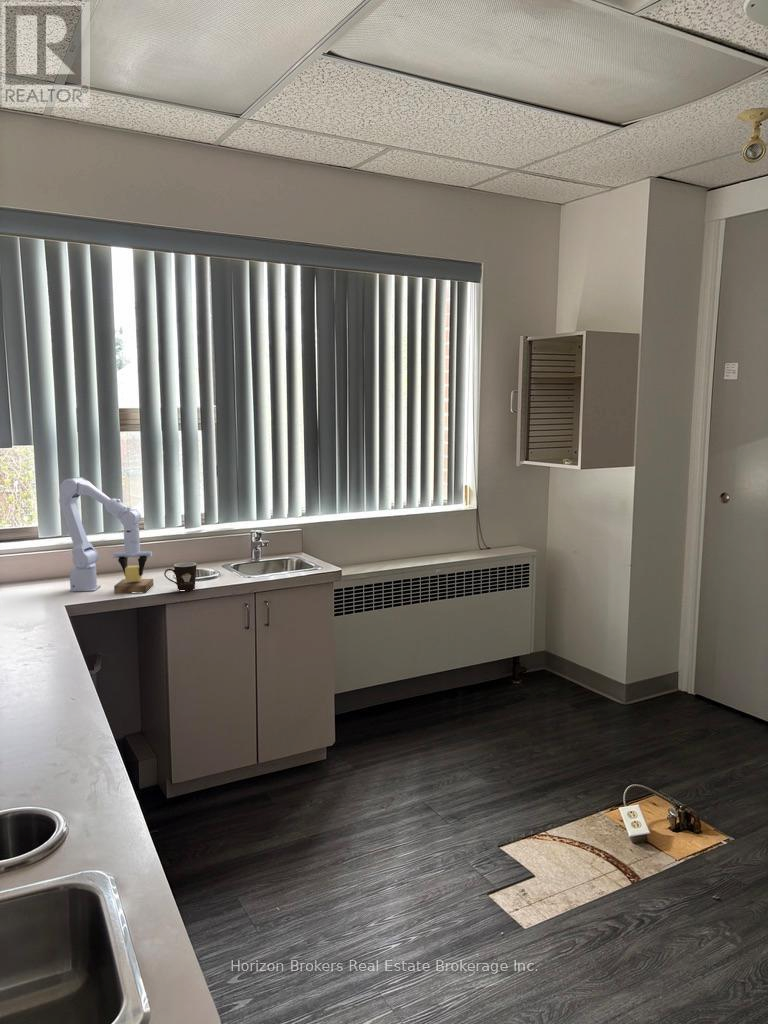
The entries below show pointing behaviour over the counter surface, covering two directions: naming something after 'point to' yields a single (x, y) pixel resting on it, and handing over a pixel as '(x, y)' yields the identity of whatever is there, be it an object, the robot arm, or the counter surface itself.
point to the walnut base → (133, 586)
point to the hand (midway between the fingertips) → (133, 575)
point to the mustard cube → (132, 573)
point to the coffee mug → (184, 575)
